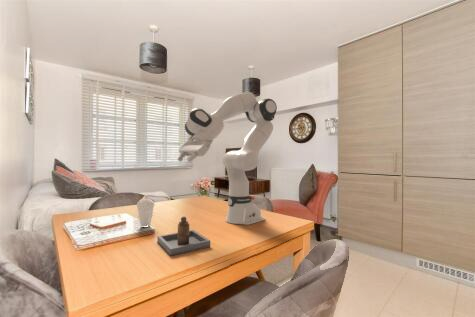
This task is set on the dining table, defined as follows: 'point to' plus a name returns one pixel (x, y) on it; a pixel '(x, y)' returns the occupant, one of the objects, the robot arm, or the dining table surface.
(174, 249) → the tray
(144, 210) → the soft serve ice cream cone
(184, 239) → the brown bottle
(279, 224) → the dining table surface
